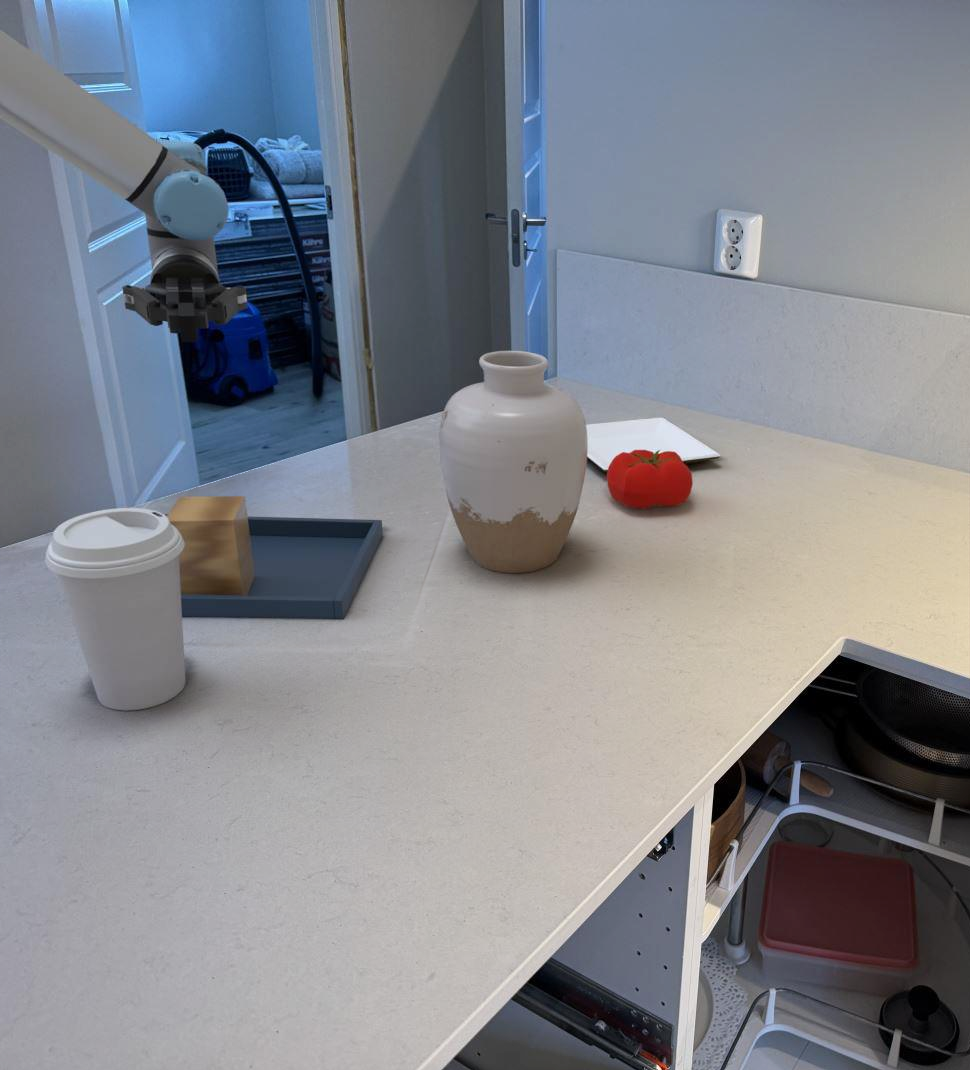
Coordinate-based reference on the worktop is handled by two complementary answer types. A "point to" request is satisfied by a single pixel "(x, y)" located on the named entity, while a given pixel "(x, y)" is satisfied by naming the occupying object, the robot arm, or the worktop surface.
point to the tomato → (649, 479)
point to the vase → (513, 463)
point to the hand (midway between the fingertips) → (188, 329)
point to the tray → (298, 570)
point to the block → (214, 545)
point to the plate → (643, 441)
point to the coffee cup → (124, 602)
